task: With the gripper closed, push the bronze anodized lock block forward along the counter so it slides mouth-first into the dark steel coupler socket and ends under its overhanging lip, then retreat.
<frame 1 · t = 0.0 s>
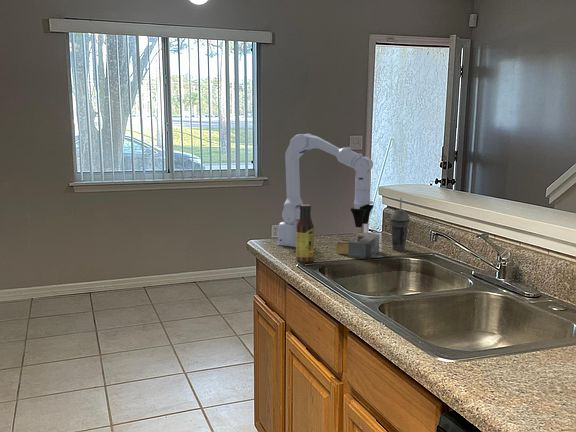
hand: (361, 225, 209), 10 cm above the worktop, fingers open, 7 cm apart
lock block: (346, 252, 211), on the worktop
sauce bottle: (304, 261, 197), on the worktop
coupler: (363, 253, 208), on the worktop
beverage cup: (398, 249, 215), on the worktop
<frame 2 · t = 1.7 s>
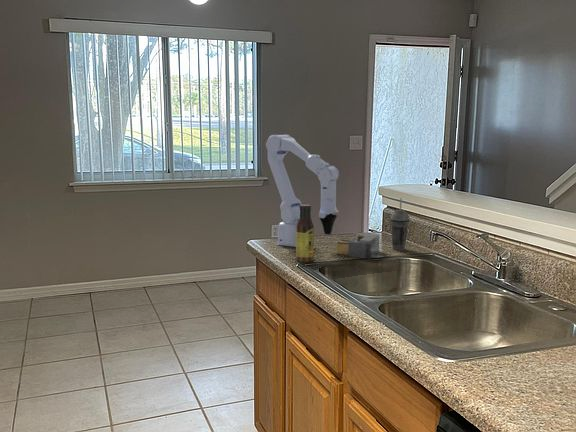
hand: (327, 233, 212), 6 cm above the worktop, fingers closed
nothing on the worktop moved.
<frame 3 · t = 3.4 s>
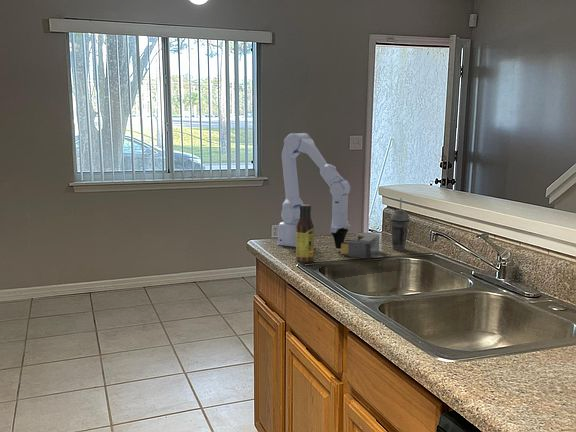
hand: (339, 248, 211), 1 cm above the worktop, fingers closed
lock block: (349, 252, 210), on the worktop, touching gripper
everything else where it was.
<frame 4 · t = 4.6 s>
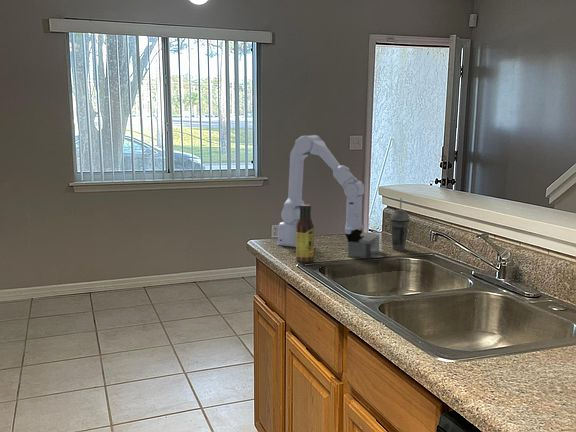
hand: (352, 249, 209), 1 cm above the worktop, fingers closed, pressing on lock block
lock block: (363, 253, 208), on the worktop, touching coupler, gripper
everything else where it was.
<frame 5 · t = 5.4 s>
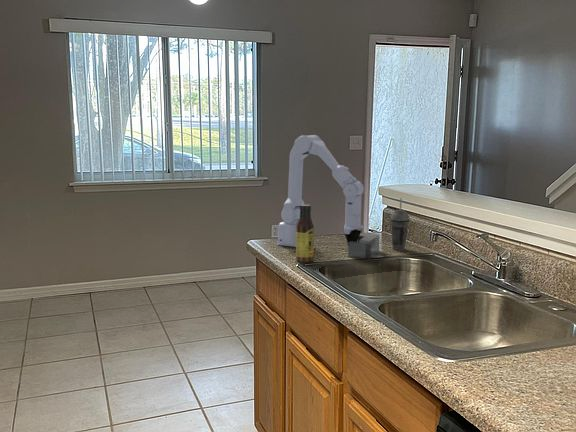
hand: (352, 249, 209), 1 cm above the worktop, fingers closed
lock block: (364, 254, 208), on the worktop
everything else where it was.
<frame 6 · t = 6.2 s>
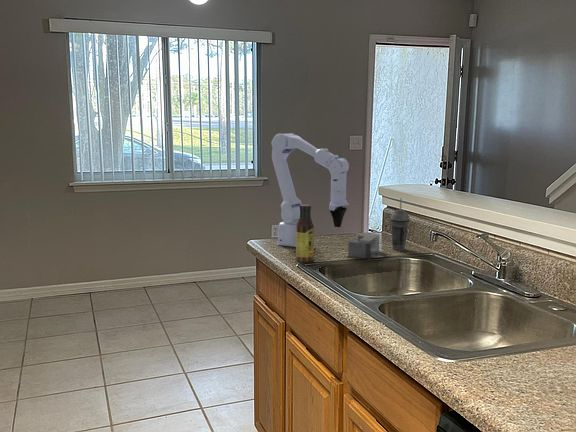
hand: (337, 226, 210), 9 cm above the worktop, fingers closed
nothing on the worktop moved.
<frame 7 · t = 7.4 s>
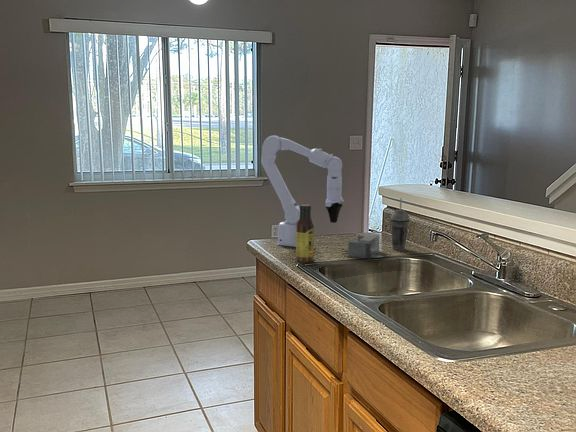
hand: (333, 222, 219), 9 cm above the worktop, fingers closed
nothing on the worktop moved.
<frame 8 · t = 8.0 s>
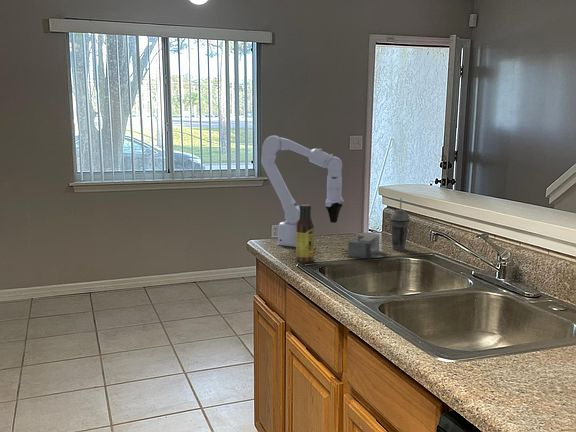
hand: (333, 222, 219), 9 cm above the worktop, fingers closed
nothing on the worktop moved.
at the end: lock block 0.8 cm off-centre on the coupler, point 0.0 cm above the coupler's base; lock block tilted 0° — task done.
